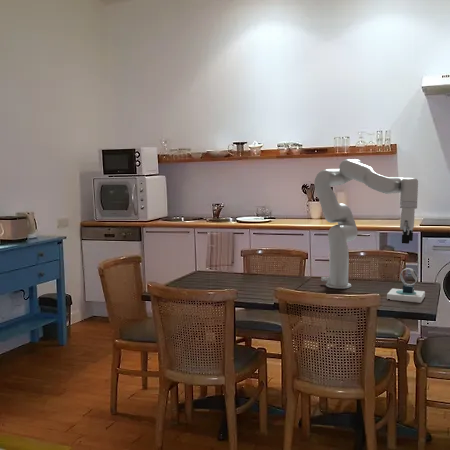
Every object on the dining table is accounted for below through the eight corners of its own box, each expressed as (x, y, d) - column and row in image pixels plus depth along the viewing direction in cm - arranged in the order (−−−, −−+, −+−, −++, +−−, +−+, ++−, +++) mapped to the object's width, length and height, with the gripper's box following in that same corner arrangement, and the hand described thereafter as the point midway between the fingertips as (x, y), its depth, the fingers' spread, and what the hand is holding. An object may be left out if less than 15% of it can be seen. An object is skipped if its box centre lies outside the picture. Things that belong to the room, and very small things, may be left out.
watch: (416, 293, 266) (417, 270, 265) (398, 292, 270) (399, 268, 268) (418, 291, 271) (419, 268, 270) (400, 289, 275) (401, 266, 273)
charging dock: (386, 299, 267) (387, 293, 267) (396, 288, 288) (396, 283, 288) (420, 302, 260) (421, 296, 260) (427, 291, 282) (428, 286, 281)
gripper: (403, 203, 274) (402, 239, 276) (396, 206, 259) (395, 243, 261) (419, 203, 271) (418, 240, 273) (414, 206, 256) (412, 245, 258)
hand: (407, 241), depth 267 cm, fingers open, 9 cm apart
